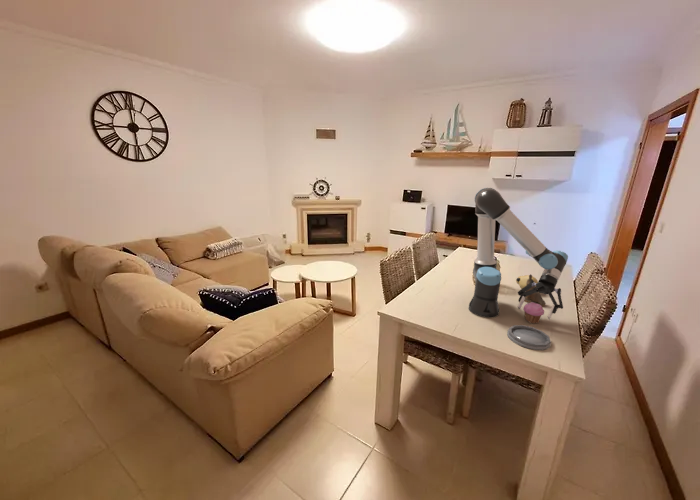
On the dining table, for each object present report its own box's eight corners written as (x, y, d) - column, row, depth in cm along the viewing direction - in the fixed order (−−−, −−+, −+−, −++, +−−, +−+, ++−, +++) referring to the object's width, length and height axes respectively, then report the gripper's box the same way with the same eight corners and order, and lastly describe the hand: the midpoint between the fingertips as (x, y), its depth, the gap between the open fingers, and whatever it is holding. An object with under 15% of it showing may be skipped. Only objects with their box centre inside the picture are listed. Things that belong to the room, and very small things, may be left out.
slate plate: (499, 336, 135) (500, 331, 135) (518, 325, 144) (519, 321, 144) (539, 355, 122) (540, 350, 121) (557, 342, 131) (558, 337, 130)
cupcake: (545, 325, 144) (549, 307, 142) (528, 326, 144) (532, 307, 141) (533, 316, 153) (536, 299, 150) (517, 317, 152) (520, 299, 150)
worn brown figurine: (520, 304, 173) (518, 274, 171) (524, 301, 176) (522, 272, 174) (543, 307, 163) (541, 276, 161) (547, 305, 166) (545, 274, 164)
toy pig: (520, 285, 193) (523, 270, 190) (539, 292, 183) (542, 276, 180) (511, 288, 188) (514, 273, 185) (530, 295, 178) (534, 279, 175)
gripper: (579, 288, 144) (563, 326, 139) (524, 274, 163) (508, 307, 158) (578, 281, 139) (561, 319, 134) (522, 267, 158) (505, 300, 153)
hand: (533, 312), depth 146 cm, fingers open, 13 cm apart
